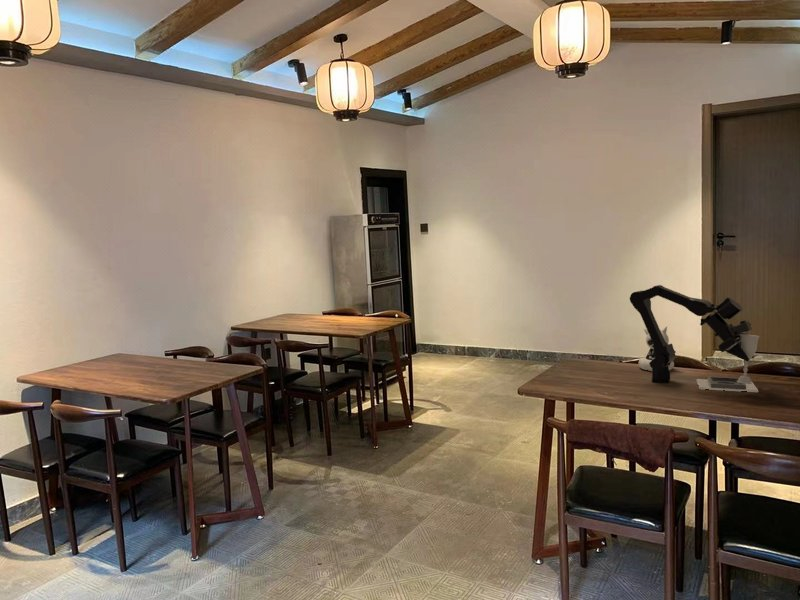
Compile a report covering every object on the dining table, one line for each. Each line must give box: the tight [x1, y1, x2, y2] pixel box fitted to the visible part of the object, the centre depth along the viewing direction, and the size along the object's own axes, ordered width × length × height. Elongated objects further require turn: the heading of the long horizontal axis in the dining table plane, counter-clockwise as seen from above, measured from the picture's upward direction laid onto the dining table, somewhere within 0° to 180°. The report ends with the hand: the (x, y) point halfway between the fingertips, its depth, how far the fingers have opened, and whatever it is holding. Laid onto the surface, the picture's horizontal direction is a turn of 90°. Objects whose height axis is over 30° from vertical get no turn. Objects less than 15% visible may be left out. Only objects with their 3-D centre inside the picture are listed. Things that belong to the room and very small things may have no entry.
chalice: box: [737, 334, 761, 384], centre depth 224 cm, size 7×7×18 cm
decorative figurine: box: [638, 326, 675, 372], centre depth 269 cm, size 15×15×20 cm
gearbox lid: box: [696, 375, 759, 393], centre depth 237 cm, size 20×14×2 cm
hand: (751, 359), depth 224 cm, fingers closed on chalice, 6 cm apart
